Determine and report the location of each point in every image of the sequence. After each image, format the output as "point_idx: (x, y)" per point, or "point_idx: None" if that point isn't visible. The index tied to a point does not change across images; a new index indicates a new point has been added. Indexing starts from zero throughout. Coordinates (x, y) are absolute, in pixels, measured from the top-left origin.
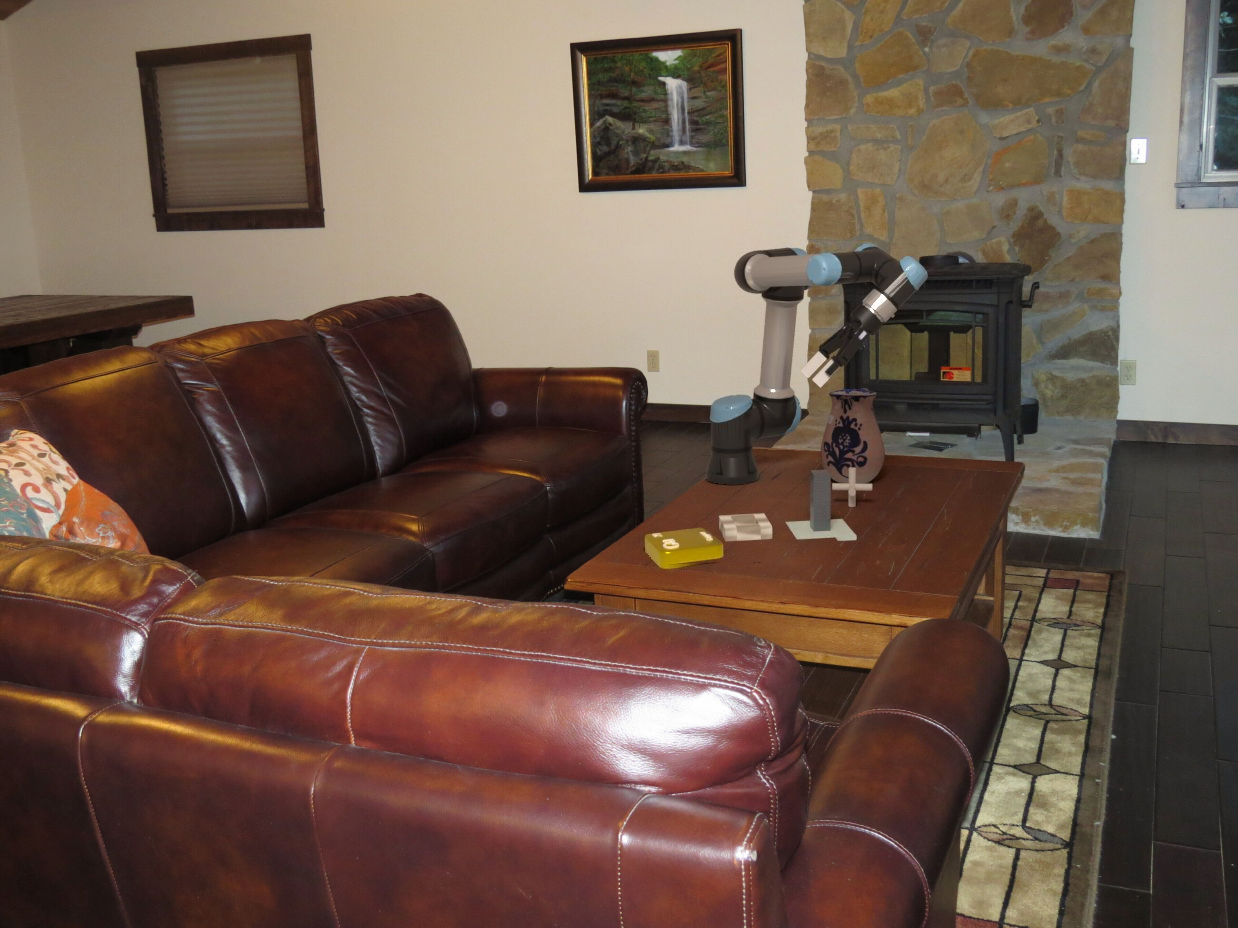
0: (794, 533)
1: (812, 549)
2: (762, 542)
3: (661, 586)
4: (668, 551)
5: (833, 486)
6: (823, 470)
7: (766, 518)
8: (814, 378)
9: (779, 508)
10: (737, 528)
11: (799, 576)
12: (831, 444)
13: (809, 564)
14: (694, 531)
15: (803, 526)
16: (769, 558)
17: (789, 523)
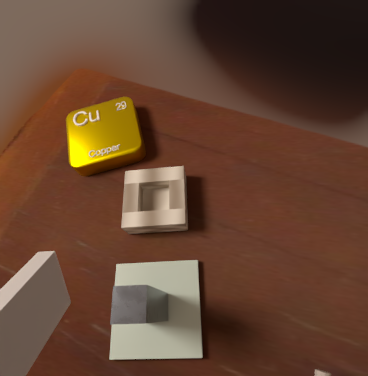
0: (141, 264)
1: (89, 281)
2: None
3: (31, 124)
4: (67, 117)
5: (316, 372)
6: (139, 314)
7: (158, 224)
8: (30, 261)
9: (293, 265)
10: (124, 185)
11: (5, 249)
12: None
13: None
14: (125, 139)
15: (171, 283)
16: (73, 224)
17: (189, 264)
